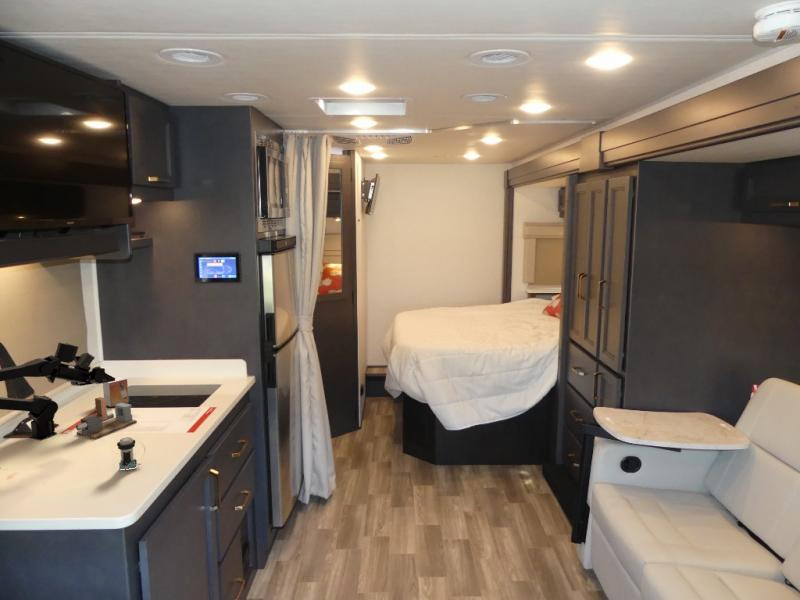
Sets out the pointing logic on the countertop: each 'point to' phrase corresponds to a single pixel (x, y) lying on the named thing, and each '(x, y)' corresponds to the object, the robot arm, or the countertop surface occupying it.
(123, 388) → the small box
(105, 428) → the base plate
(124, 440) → the push button
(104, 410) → the sliding bolt with handle
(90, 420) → the outer sleeve
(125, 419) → the socket
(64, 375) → the robot arm
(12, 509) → the countertop surface
